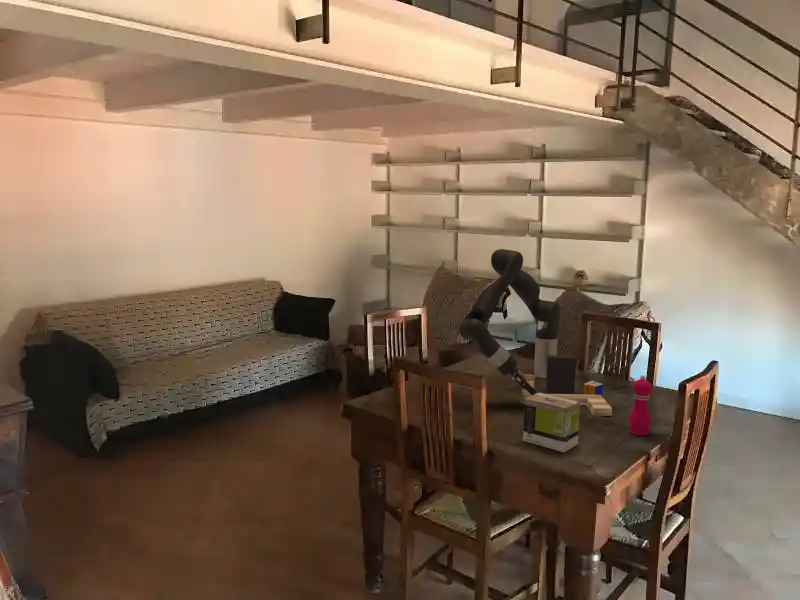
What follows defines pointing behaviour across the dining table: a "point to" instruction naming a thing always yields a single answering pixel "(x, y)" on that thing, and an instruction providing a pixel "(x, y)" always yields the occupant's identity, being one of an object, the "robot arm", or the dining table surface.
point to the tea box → (551, 421)
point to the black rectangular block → (560, 374)
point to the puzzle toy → (593, 388)
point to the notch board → (590, 403)
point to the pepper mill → (640, 408)
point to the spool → (530, 380)
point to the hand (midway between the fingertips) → (533, 391)
